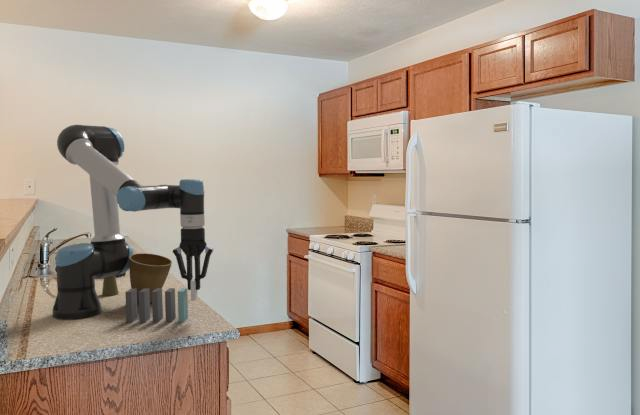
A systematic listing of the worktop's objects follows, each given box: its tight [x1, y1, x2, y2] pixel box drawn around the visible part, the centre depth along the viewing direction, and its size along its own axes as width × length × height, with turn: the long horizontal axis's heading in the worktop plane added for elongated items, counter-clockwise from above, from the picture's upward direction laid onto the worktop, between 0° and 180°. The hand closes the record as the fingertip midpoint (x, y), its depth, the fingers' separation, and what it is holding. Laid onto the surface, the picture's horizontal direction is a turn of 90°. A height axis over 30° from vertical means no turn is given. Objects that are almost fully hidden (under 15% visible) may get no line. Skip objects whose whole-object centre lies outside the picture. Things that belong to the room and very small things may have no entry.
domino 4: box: [164, 287, 177, 323], centre depth 170 cm, size 2×5×10 cm, turn 0°
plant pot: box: [129, 252, 173, 305], centre depth 193 cm, size 15×15×16 cm
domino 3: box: [151, 287, 164, 324], centre depth 170 cm, size 2×5×10 cm, turn 0°
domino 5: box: [177, 287, 189, 323], centre depth 170 cm, size 2×5×10 cm, turn 0°
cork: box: [101, 276, 119, 297], centre depth 207 cm, size 6×6×11 cm
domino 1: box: [124, 288, 138, 324], centre depth 171 cm, size 2×5×10 cm, turn 0°
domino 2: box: [138, 288, 151, 324], centre depth 171 cm, size 2×5×10 cm, turn 0°
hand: (194, 299), depth 170 cm, fingers closed
